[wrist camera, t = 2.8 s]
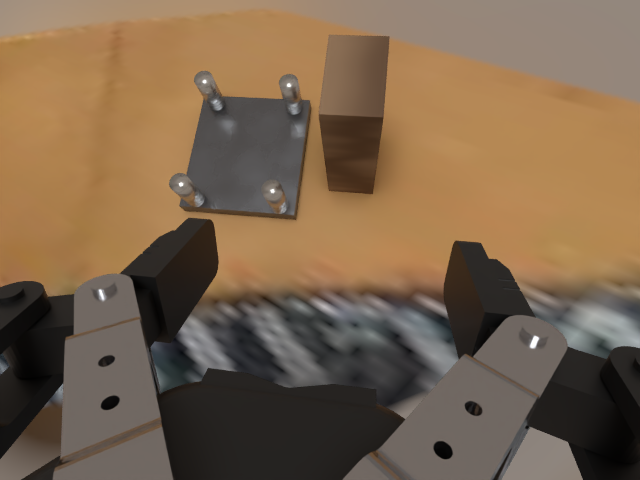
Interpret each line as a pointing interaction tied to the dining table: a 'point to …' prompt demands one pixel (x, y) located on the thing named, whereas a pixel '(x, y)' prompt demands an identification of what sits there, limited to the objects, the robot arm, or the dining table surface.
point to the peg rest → (246, 153)
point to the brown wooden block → (353, 110)
